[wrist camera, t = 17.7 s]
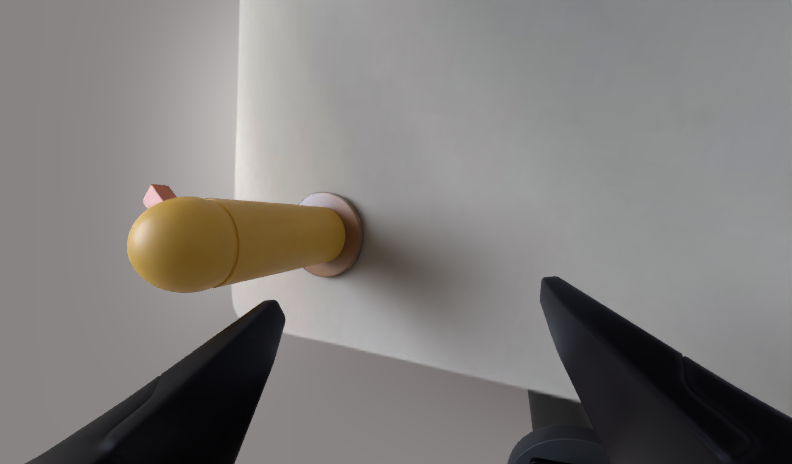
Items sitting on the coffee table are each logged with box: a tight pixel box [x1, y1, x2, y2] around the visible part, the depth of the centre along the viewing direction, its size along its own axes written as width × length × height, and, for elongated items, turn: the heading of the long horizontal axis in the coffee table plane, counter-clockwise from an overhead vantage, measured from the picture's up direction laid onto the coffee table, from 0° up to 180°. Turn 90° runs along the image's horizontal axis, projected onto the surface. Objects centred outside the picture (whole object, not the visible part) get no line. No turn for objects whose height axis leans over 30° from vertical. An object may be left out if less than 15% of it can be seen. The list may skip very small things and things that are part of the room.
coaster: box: [299, 192, 363, 277], centre depth 23 cm, size 7×7×1 cm
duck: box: [127, 184, 345, 293], centre depth 17 cm, size 6×5×12 cm
